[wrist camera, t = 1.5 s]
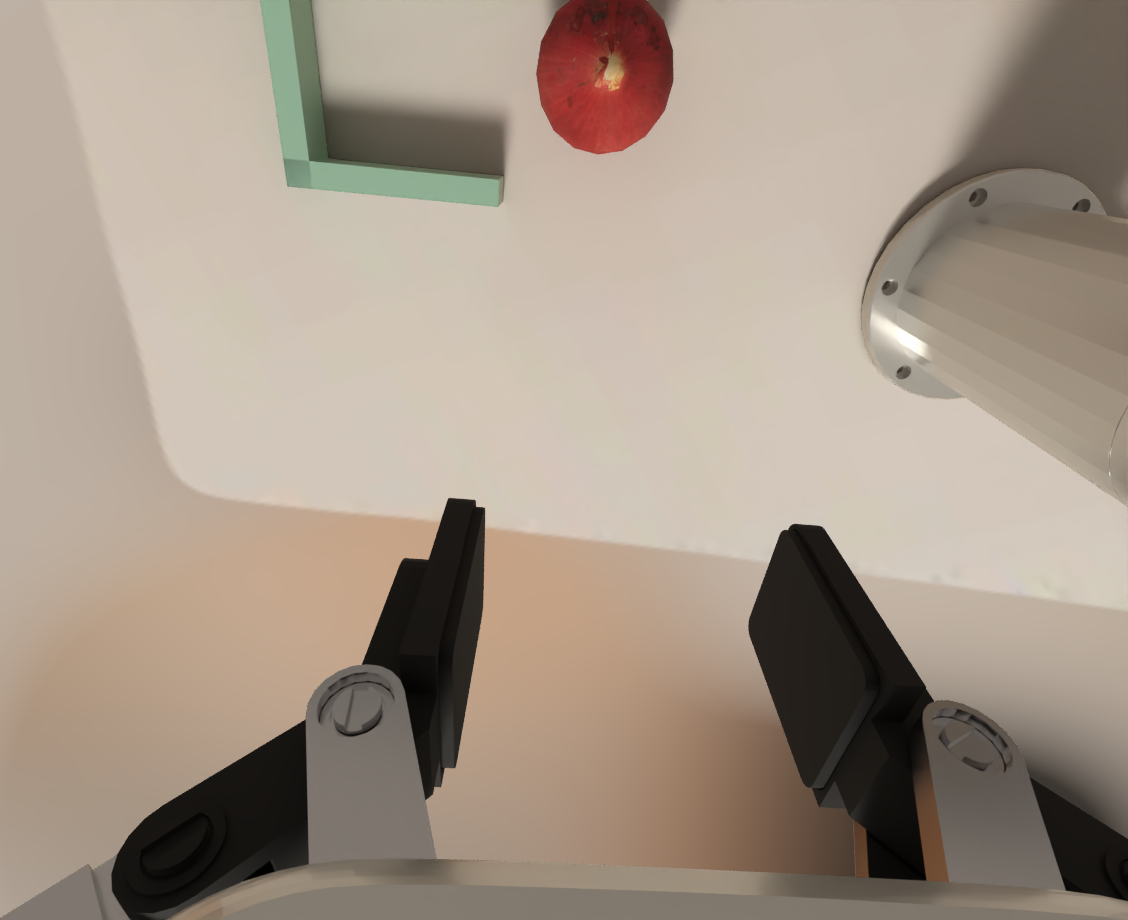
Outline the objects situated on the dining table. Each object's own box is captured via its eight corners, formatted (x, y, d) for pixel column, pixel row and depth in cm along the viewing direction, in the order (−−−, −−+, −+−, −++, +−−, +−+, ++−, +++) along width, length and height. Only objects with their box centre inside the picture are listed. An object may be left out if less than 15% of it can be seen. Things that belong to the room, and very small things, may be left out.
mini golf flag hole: (511, -90, 24) (453, -327, 11) (502, 201, 30) (458, 254, 17) (268, -120, 23) (-68, -401, 11) (307, 182, 29) (117, 222, 17)
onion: (531, 16, 26) (518, -25, 19) (656, -6, 25) (690, -56, 18) (549, 158, 29) (544, 168, 22) (662, 140, 28) (693, 144, 21)
